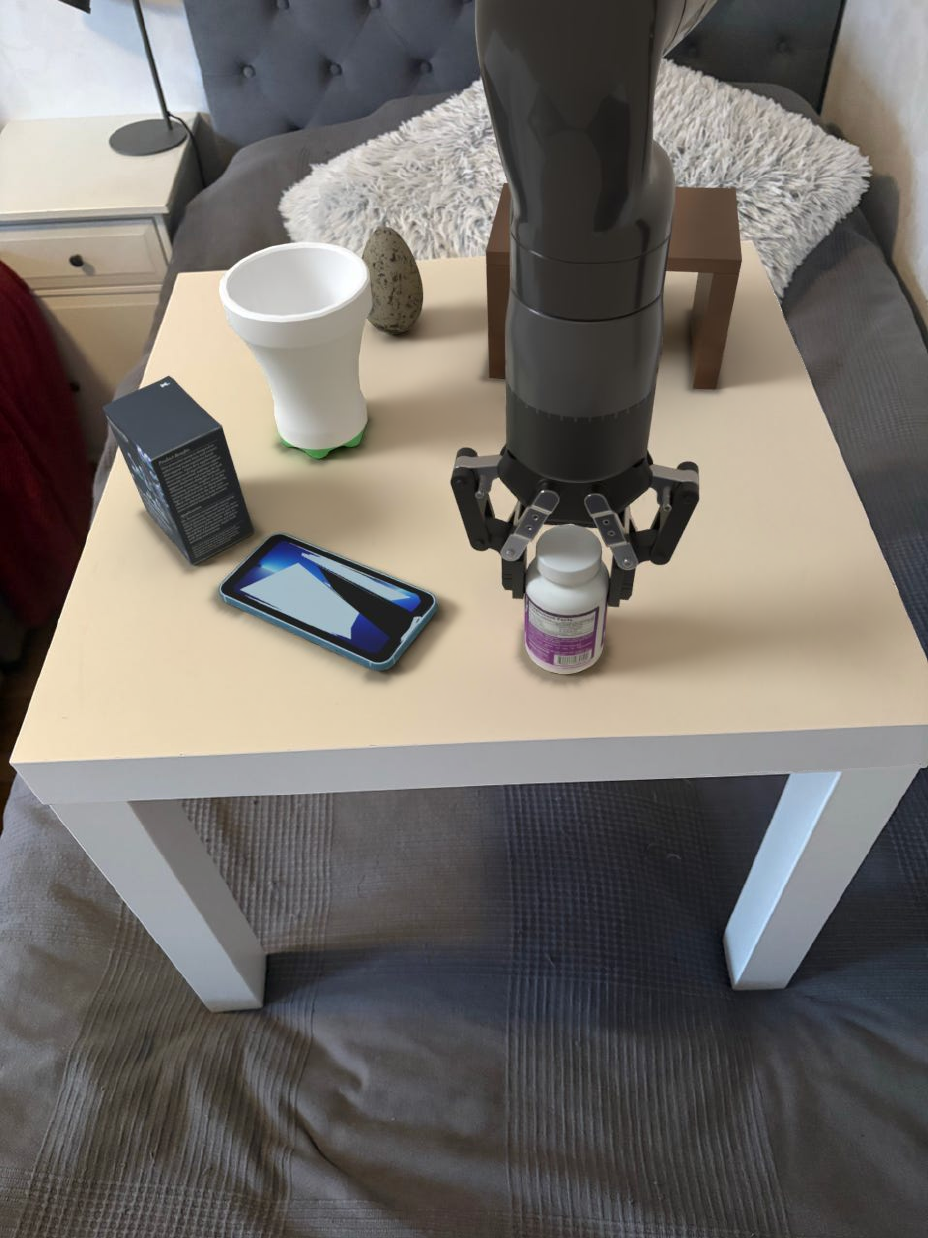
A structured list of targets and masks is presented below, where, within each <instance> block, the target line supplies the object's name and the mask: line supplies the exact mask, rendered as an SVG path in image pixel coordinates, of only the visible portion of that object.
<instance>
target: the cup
mask: <svg viewBox="0 0 928 1238" xmlns="http://www.w3.org/2000/svg"><path fill="white" fill-rule="evenodd" d="M218 290H219V291H218V293H219V296H220V299H221V303H222V306H223V308H224V313H225V316H226V319H227V322H228V325H229V327H230V329H231V330H232V331H233V332H234V333H235V335H237V336H238V337H239V338H240V339H241V340H242V341H243V342H244V344H245V345H246V346H247V348H248V350H250V352H251V354H252V356H253V357H254V359H255V360H256V362H257V364H258V365H259V367H260V369H261V371H262V373H263V374H264V377H265V379H266V381H267V384H268V385H269V389H270V392H271V396H272V399H273V402H274V403H273V415H274V420H275V424H276V428H277V431H278V435H279V437H280V440H281V441H282V443H283V444H284V446H285V447H287V448H288V447H289V448H296V449H297V448H298V449H300V450H301V451H303V452H305V453H306V454H308V455H309V456H311V457H312V458H314V459H322V458H324V457H326V456H327V455H328V454H329V452H330V451H332V450H334V449H336V448H339V447H342V446H344V447H346V448H353V447H357V446H358V445H359V444H360V443H361V440H362V437H363V434H364V431H365V428H366V425H367V423H368V421H369V420H368V410H367V404H366V398H365V396H364V394H363V392H362V389H361V384H360V383H361V382H360V354H361V353H360V352H361V346H362V340H363V333H364V330H365V326H366V322H367V316H368V314H369V313H370V311H371V309H372V305H373V303H372V293H371V283H370V274H369V269H368V267H367V265H366V263H365V261H364V260H363V259H362V257H361V256H359V255H358V254H357V253H356V252H354V251H352V250H350V249H347V248H345V247H344V246H342V245H337V244H332V243H328V242H327V243H326V242H314V241H301V242H290V243H283V244H278V245H272V246H269V247H266V248H264V249H260V250H258V251H256V252H255V251H254V252H253V253H251V254H249V255H247V256H245V257H244V258H242V259H240V260H239V261H238V262H236V263H235V264H234V265H233V266H231V268H229V269H228V270H227V272H226V273H225V274H224V275H223V277H222V278H221V279H220V281H219V289H218Z"/></svg>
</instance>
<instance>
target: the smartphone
mask: <svg viewBox="0 0 928 1238" xmlns="http://www.w3.org/2000/svg"><path fill="white" fill-rule="evenodd" d="M218 593H219V596H220V598H221V600H222V601H223V602H224V603H226V604H228V605H230V606H233V607H235V608H237V609H239V610H242V611H243V612H246V613H248V614H250V615H252V616H254V617H257V618H259V619H261V620H264V621H265V622H268V623H269V624H272V625H274V626H277V627H279V628H281V629H283V630H285V631H287V632H289V633H291V634H294V635H296V636H298V637H301V638H303V639H305V640H307V641H309V642H311V643H314V644H316V645H318V646H320V647H323V648H324V649H327V650H329V651H331V652H334V653H336V654H338V655H339V656H342V657H345V658H346V659H348V660H351V661H353V662H355V663H358V664H360V665H362V666H364V667H366V668H369V669H370V670H373V671H377V672H378V671H380V672H382V671H386V670H388V669H390V668H392V667H394V666H395V664H396V663H397V661H398V660H399V659H400V658H401V657H402V655H403V654H404V652H406V650H407V649H408V648H409V646H410V645H411V644H412V642H413V641H414V640H415V639H416V637H417V636H418V635H419V634H420V633H421V631H422V630H423V629H424V628H425V626H426V625H427V624H428V622H429V621H430V620H431V619H432V617H433V616H434V615H435V614H436V613H437V610H438V601H437V597H436V595H435V594H434V593H433V592H431V591H430V590H426V589H424V588H421V587H419V586H416V585H414V584H412V583H409V582H406V581H404V580H402V579H400V578H397V577H394V576H391V575H390V574H387V573H385V572H382V571H379V570H377V569H375V568H372V567H370V566H367V565H365V564H362V563H359V562H358V561H355V560H353V559H350V558H347V557H345V556H344V555H343V556H342V555H340V554H337V553H335V552H332V551H330V550H327V549H325V548H323V547H320V546H318V545H315V544H314V543H310V542H308V541H305V540H303V539H301V538H298V537H296V536H293V535H291V534H288V533H285V532H274V533H271V534H270V535H268V536H266V538H265V539H264V540H263V541H261V543H260V544H258V546H257V547H256V548H254V550H252V552H251V553H250V554H249V555H247V557H246V558H245V559H244V560H243V561H242V562H240V564H238V565H237V567H236V568H234V569H233V570H232V571H231V572H230V574H228V576H226V577H225V578H224V579H223V580H222V581H221V583H220V584H219V585H218Z"/></svg>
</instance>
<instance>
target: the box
mask: <svg viewBox="0 0 928 1238" xmlns="http://www.w3.org/2000/svg"><path fill="white" fill-rule="evenodd" d="M102 411H103V413H104V415H105V418H106V420H107V422H108V424H109V427H110V428H111V429H110V430H111V431H112V434H113V435H114V438H115V441H116V443H117V445H118V448H119V451H120V452H121V455H122V457H123V460H124V462H125V464H126V466H127V468H128V471H129V473H130V476H131V478H132V480H133V482H134V485H135V487H136V489H137V492H138V494H139V496H140V499H141V501H142V504H143V506H144V508H145V510H146V513H147V514H148V515H150V517H151V518H152V519H153V521H154V522H155V523H156V524H157V525H158V526H159V528H160V529H161V530H162V531H163V533H165V535H166V536H167V537H168V538H169V540H170V541H171V543H173V544H174V546H176V548H177V549H178V550H179V551H180V554H182V555H183V556H184V557H185V559H186V560H187V562H188V563H189V564H190V565H197V564H198V563H200V562H202V561H205V560H206V559H208V558H210V557H211V556H213V555H216V554H217V553H219V552H221V551H223V550H226V549H227V548H229V547H230V546H232V545H234V544H236V543H238V542H240V541H241V540H243V539H246V538H247V537H249V536H251V535H252V534H254V533H255V530H254V526H253V523H252V519H251V516H250V512H249V509H248V506H247V503H246V500H245V497H244V493H243V490H242V487H241V484H240V481H239V477H238V473H237V471H236V470H237V469H236V467H235V464H234V460H233V457H232V454H231V451H230V448H229V444H228V441H227V438H226V435H225V432H224V431H225V430H224V428H223V425H222V424H221V423H220V422H218V421H217V420H216V419H215V418H214V417H213V416H212V415H210V413H208V411H207V410H206V409H204V408H203V407H202V406H201V405H200V404H199V403H198V402H197V401H196V400H195V399H194V398H193V397H192V396H191V395H190V394H189V393H188V392H187V391H186V390H185V389H184V388H183V387H182V386H181V385H180V384H179V382H177V381H176V380H175V378H173V377H172V376H170V375H167V376H165V377H163V378H161V379H159V380H157V381H154V382H152V383H150V384H148V385H146V386H144V387H141V388H139V389H136V390H134V391H132V392H130V393H127V394H125V395H123V396H121V397H119V398H116V399H115V400H113V401H110V402H109V403H107V404H105V405H103V406H102Z"/></svg>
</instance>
